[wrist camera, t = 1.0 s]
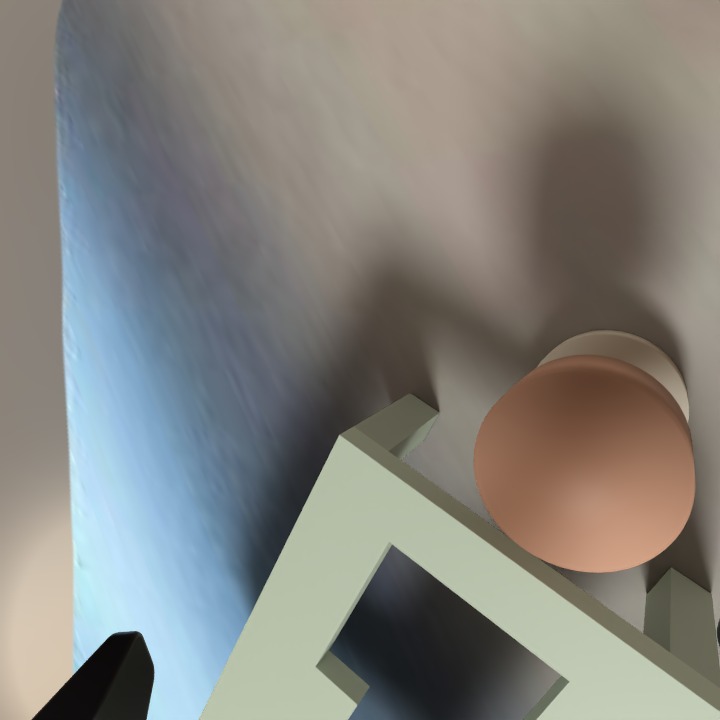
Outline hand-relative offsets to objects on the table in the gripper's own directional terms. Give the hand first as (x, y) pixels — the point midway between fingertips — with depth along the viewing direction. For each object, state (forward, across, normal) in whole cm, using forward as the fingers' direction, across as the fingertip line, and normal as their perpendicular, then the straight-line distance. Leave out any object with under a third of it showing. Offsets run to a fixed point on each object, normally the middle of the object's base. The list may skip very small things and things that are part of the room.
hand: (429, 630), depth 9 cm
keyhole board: (+12, -1, +15) cm, 19 cm away
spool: (+12, -8, +4) cm, 15 cm away
